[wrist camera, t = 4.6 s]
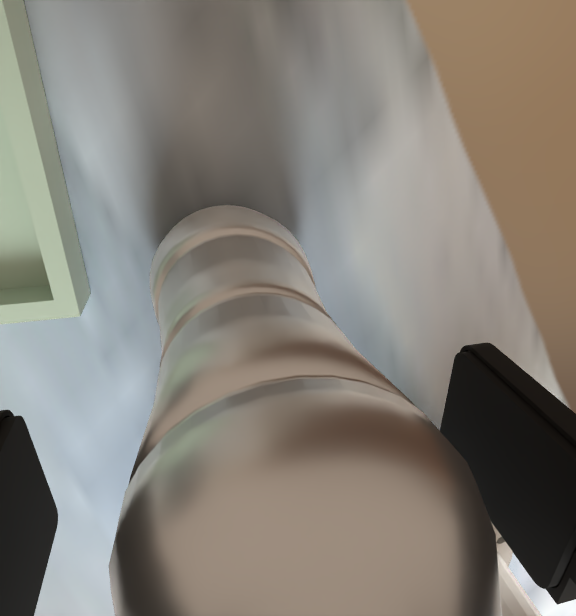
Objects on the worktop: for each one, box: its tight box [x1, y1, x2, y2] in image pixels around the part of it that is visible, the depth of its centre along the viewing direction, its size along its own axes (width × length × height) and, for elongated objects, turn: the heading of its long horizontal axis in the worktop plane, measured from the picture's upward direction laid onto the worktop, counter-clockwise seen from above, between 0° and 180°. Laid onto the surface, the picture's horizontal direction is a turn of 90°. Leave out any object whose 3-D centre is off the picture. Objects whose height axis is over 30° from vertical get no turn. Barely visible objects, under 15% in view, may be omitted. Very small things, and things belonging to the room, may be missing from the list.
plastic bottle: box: [109, 205, 502, 616], centre depth 12 cm, size 6×7×20 cm
